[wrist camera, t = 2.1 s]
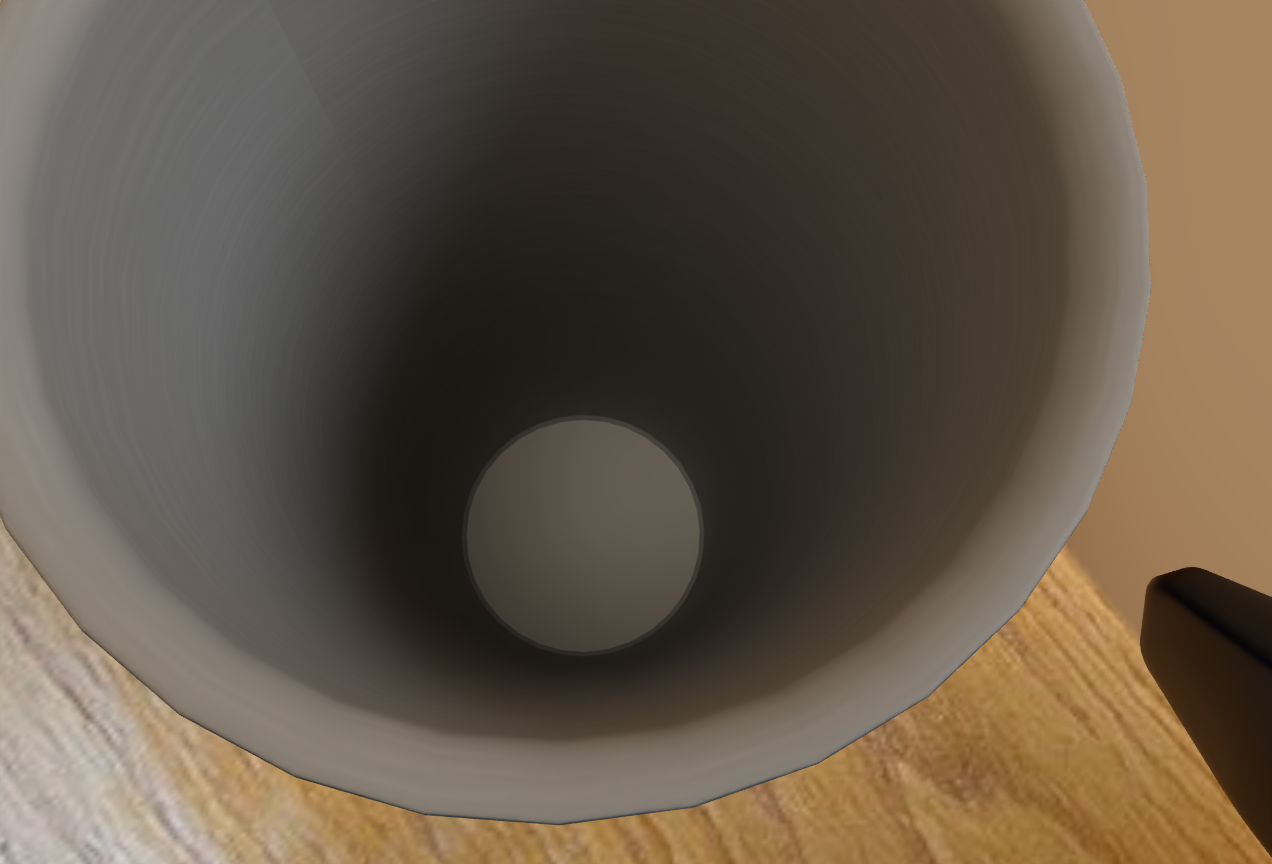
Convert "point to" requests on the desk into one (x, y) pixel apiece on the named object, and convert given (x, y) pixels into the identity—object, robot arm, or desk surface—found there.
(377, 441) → the cup
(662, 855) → the desk surface
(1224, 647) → the robot arm
